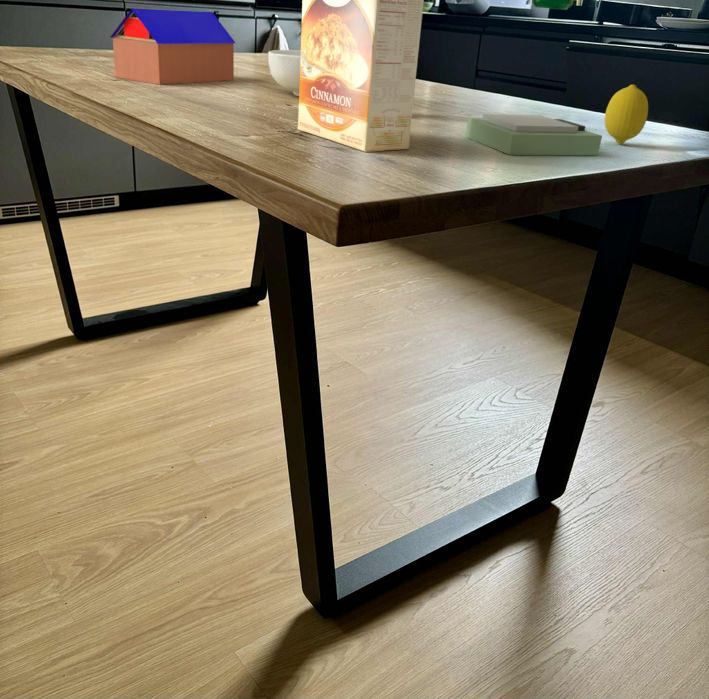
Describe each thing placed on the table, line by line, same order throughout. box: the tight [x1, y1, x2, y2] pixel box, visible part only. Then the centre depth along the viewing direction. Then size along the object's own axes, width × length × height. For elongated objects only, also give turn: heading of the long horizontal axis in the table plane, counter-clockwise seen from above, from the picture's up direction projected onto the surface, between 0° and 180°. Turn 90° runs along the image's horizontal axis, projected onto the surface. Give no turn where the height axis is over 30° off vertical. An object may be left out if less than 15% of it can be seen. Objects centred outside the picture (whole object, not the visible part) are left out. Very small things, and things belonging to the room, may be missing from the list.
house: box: [109, 8, 236, 86], centre depth 133 cm, size 12×20×12 cm, turn 147°
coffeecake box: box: [297, 0, 425, 153], centre depth 85 cm, size 15×7×20 cm, turn 36°
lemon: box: [604, 84, 649, 145], centre depth 100 cm, size 6×6×8 cm
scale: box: [465, 113, 603, 156], centre depth 94 cm, size 13×12×3 cm
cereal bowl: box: [267, 49, 301, 97], centre depth 125 cm, size 17×17×7 cm
